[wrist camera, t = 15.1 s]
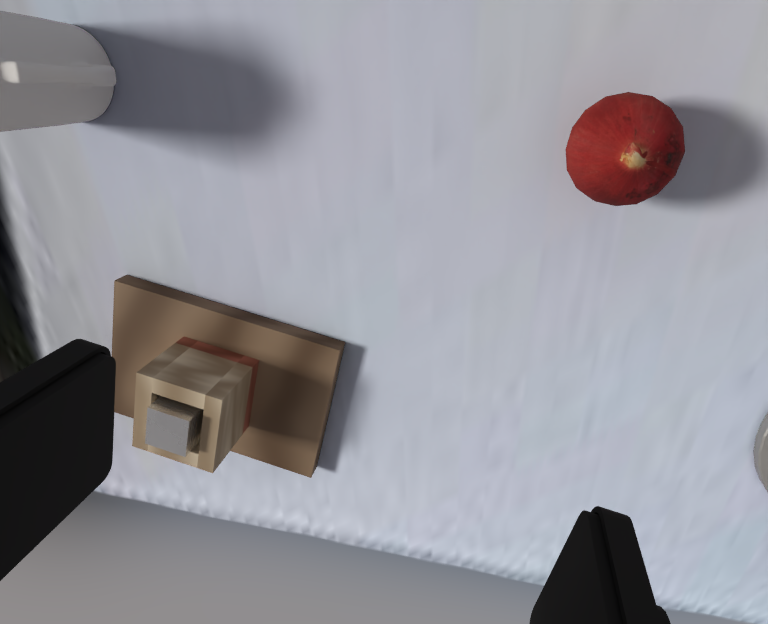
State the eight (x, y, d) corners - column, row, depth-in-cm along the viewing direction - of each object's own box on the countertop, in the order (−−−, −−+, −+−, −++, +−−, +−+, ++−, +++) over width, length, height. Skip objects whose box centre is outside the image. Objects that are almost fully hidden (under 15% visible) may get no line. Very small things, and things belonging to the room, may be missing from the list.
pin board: (345, 342, 42) (339, 350, 40) (316, 466, 47) (311, 477, 45) (126, 274, 44) (114, 280, 42) (121, 401, 48) (109, 410, 47)
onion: (679, 103, 32) (731, 107, 25) (643, 202, 34) (680, 233, 27) (577, 83, 33) (597, 82, 25) (548, 182, 35) (559, 206, 28)
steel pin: (236, 372, 43) (189, 421, 37) (231, 404, 44) (185, 457, 38) (200, 360, 43) (147, 407, 37) (196, 392, 44) (144, 443, 38)
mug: (40, 122, 40) (-133, 134, 29) (21, 18, 38) (-176, -12, 27) (167, 131, 39) (33, 147, 28) (157, 22, 36) (5, -8, 25)
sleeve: (259, 360, 42) (222, 400, 37) (248, 426, 45) (212, 473, 39) (183, 336, 43) (136, 372, 37) (177, 402, 45) (132, 445, 40)
